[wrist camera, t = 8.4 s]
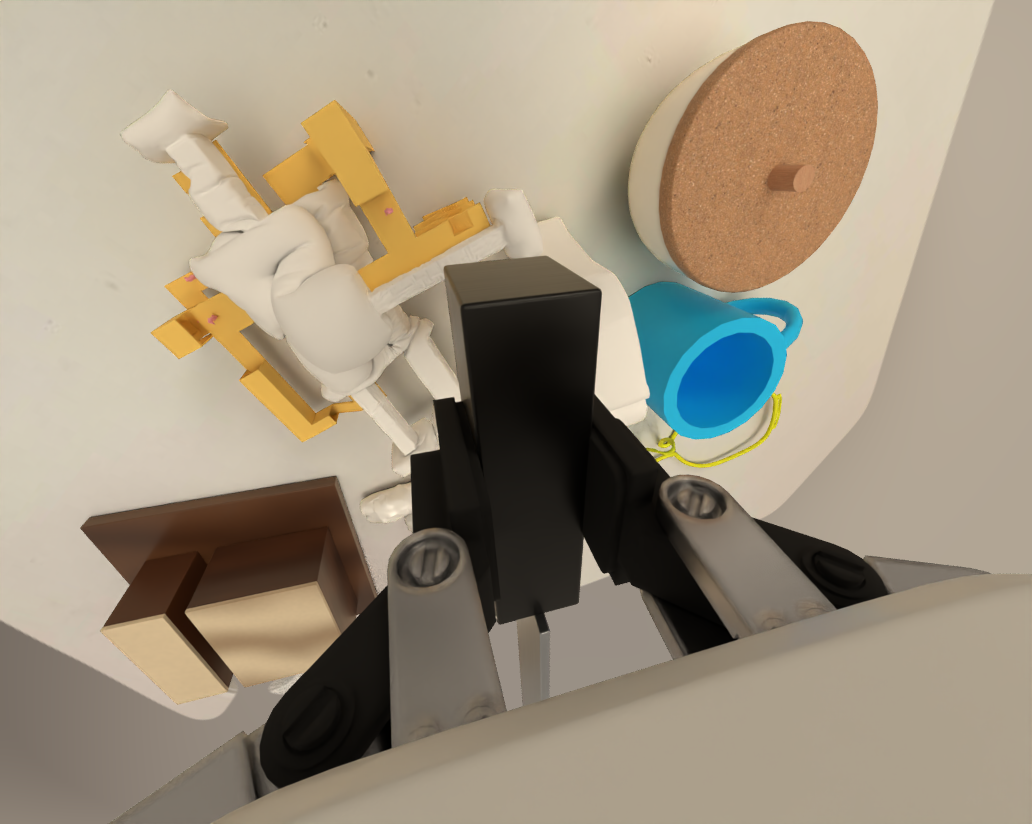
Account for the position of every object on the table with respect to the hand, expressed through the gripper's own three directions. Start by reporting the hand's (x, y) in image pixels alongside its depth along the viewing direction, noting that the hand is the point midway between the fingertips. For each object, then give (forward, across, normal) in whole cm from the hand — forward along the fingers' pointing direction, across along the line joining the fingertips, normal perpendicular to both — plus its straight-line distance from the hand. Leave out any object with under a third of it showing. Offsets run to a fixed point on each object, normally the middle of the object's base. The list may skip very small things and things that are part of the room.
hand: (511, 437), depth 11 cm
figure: (+17, +5, 0) cm, 18 cm away
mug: (+17, -17, +5) cm, 25 cm away
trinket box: (+17, -15, -5) cm, 24 cm away
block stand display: (+17, +18, +21) cm, 33 cm away
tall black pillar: (+1, 0, +7) cm, 7 cm away
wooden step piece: (+16, +23, +22) cm, 36 cm away
